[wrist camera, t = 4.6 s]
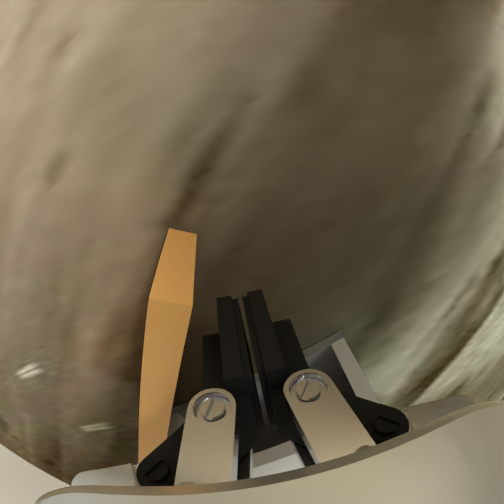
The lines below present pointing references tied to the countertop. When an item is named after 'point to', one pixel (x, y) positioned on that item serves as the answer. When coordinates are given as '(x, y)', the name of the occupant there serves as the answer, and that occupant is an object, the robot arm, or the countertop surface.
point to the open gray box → (271, 443)
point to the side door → (165, 337)
